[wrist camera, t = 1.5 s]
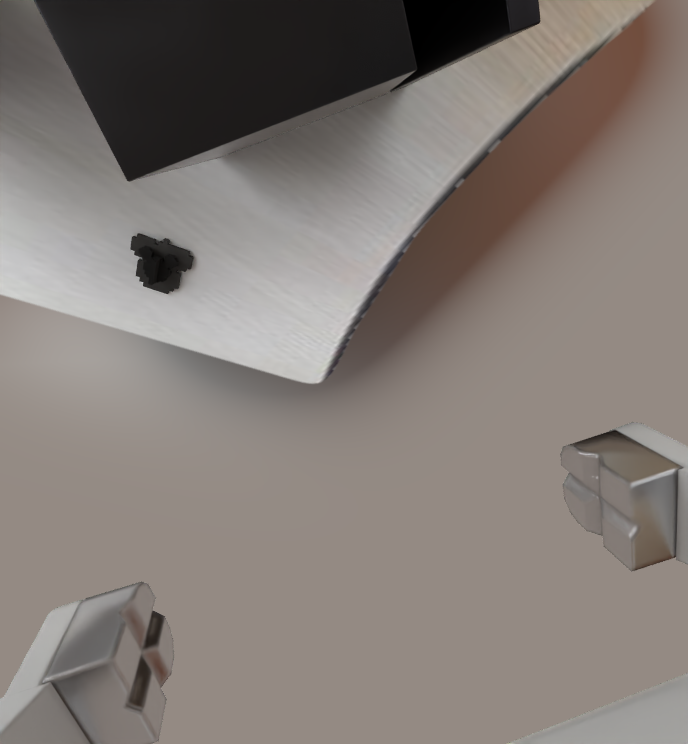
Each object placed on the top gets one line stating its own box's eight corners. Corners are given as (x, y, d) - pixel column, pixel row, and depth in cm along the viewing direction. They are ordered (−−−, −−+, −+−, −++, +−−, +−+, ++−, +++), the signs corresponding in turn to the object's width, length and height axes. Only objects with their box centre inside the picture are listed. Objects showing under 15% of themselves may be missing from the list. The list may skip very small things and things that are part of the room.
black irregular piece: (118, 286, 45) (124, 232, 43) (128, 279, 47) (134, 227, 45) (177, 305, 46) (187, 254, 44) (185, 298, 48) (195, 248, 46)
